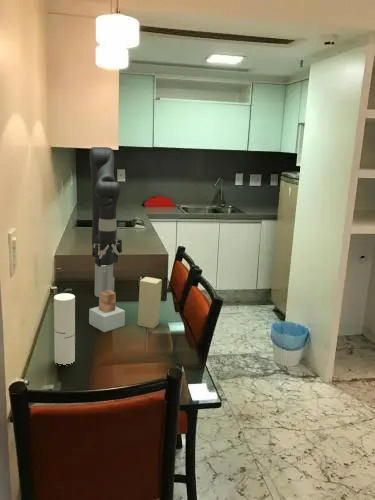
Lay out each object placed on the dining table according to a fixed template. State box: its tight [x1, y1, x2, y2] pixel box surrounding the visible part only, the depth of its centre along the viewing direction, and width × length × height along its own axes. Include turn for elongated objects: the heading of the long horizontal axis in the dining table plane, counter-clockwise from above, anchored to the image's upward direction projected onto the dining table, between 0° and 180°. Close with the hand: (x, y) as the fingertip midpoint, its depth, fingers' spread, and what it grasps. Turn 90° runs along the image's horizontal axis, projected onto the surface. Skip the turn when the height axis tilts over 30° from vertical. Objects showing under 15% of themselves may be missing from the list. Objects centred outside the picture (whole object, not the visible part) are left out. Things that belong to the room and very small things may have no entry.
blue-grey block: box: [88, 305, 126, 333], centre depth 195 cm, size 11×11×7 cm
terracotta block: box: [98, 290, 117, 313], centre depth 193 cm, size 5×5×8 cm
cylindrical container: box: [53, 292, 76, 366], centre depth 160 cm, size 7×7×25 cm
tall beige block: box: [137, 276, 163, 329], centre depth 197 cm, size 8×7×21 cm
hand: (107, 264), depth 195 cm, fingers open, 8 cm apart
